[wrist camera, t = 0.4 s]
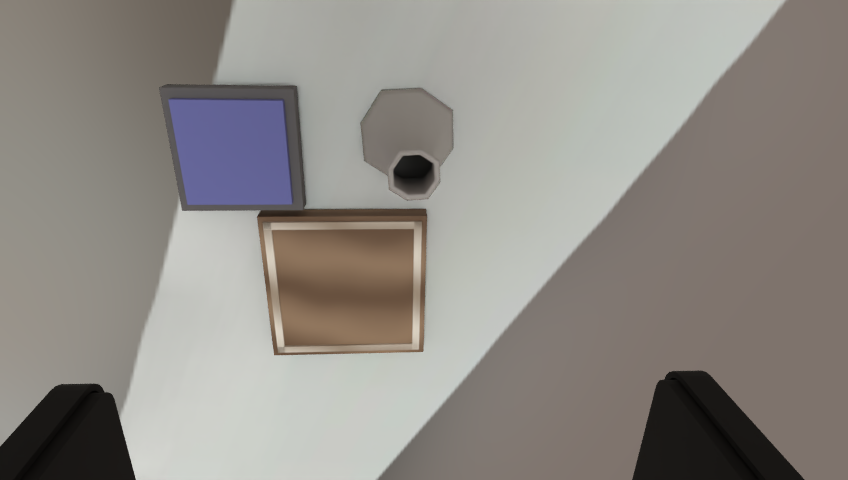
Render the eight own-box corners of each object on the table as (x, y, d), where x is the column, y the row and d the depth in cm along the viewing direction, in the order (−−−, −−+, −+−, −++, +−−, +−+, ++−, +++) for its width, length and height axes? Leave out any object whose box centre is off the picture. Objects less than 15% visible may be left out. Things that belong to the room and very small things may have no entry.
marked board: (261, 209, 41) (256, 218, 39) (425, 209, 42) (427, 217, 40) (277, 344, 46) (273, 356, 45) (422, 341, 47) (423, 353, 46)
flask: (439, 190, 41) (454, 243, 32) (350, 167, 40) (339, 217, 31) (467, 100, 38) (492, 132, 29) (372, 73, 37) (367, 97, 28)
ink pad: (167, 84, 36) (155, 88, 34) (296, 86, 37) (291, 90, 35) (188, 203, 40) (179, 213, 38) (305, 203, 41) (302, 213, 39)
